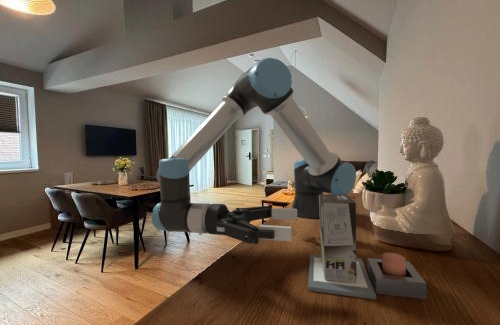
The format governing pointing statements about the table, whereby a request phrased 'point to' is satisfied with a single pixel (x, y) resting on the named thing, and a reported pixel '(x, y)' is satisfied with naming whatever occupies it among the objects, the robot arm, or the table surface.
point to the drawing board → (357, 289)
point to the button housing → (397, 281)
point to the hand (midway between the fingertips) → (294, 223)
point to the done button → (393, 264)
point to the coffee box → (338, 237)
